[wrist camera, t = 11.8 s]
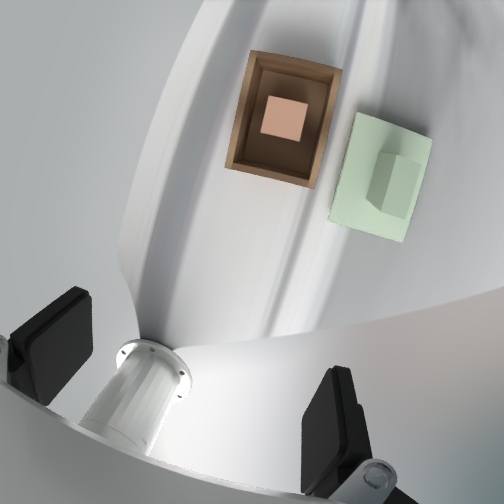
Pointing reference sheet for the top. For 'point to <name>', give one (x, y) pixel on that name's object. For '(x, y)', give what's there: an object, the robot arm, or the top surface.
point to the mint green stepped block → (380, 178)
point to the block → (284, 118)
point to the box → (277, 148)
